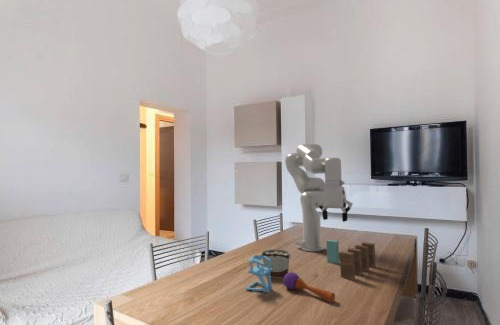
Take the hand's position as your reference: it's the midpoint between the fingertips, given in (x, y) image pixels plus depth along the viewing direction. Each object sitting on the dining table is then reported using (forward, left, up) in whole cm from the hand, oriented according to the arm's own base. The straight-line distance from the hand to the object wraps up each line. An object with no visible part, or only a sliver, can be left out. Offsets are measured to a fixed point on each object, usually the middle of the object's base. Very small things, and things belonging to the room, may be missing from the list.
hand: (334, 220), depth 138 cm
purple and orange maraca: (-13, -37, -20) cm, 44 cm away
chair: (-30, -35, -20) cm, 50 cm away
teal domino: (-1, 0, -20) cm, 20 cm away
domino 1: (+3, -20, -20) cm, 28 cm away
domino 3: (+10, -9, -20) cm, 24 cm away
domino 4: (+14, -4, -20) cm, 24 cm away
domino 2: (+6, -14, -20) cm, 25 cm away
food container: (-25, -20, -20) cm, 38 cm away
